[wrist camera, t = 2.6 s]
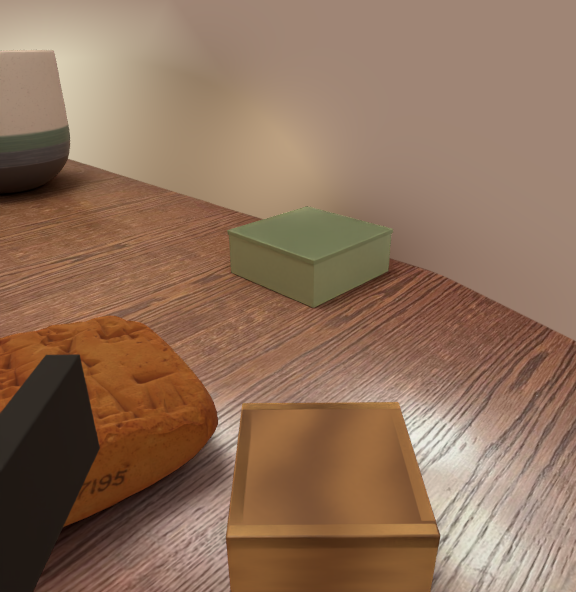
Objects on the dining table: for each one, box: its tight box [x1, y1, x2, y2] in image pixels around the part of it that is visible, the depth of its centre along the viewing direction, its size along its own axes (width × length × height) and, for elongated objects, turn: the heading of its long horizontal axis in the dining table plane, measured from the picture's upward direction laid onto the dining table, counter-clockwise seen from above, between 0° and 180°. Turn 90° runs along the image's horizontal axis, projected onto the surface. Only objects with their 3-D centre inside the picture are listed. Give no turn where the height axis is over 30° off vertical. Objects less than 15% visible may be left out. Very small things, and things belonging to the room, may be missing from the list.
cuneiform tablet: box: [0, 316, 218, 527], centre depth 36 cm, size 22×17×8 cm
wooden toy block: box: [226, 402, 440, 592], centre depth 27 cm, size 9×9×9 cm
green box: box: [228, 206, 393, 308], centre depth 68 cm, size 15×15×6 cm
